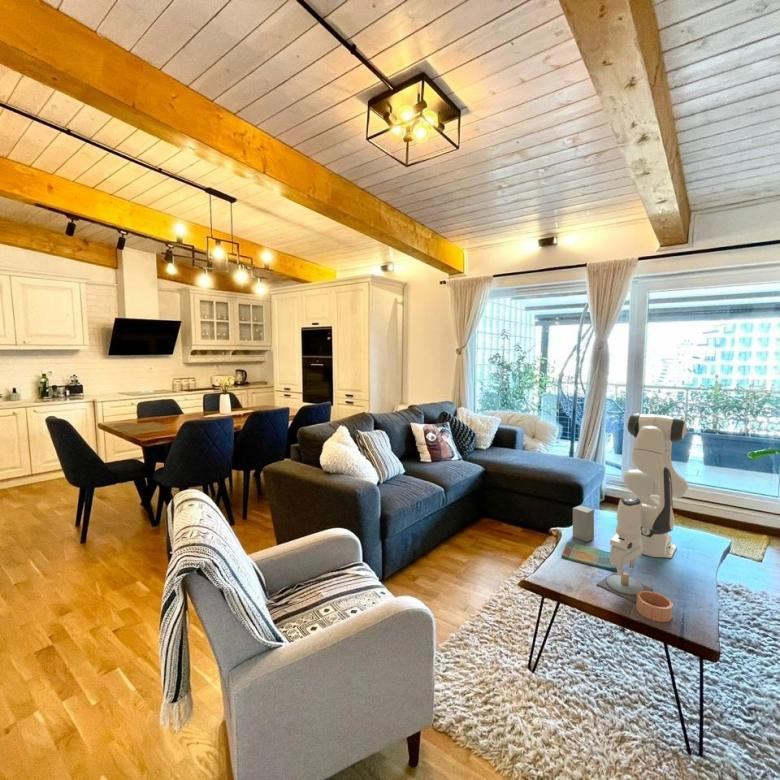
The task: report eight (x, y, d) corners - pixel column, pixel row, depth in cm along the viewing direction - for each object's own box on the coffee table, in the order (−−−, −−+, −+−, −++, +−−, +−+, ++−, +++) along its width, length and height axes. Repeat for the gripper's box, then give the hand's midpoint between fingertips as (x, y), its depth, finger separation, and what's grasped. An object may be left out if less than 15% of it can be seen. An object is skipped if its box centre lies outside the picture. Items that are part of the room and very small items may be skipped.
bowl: (644, 599, 161) (645, 587, 161) (676, 614, 153) (677, 601, 152) (630, 610, 155) (631, 597, 155) (663, 625, 146) (664, 612, 146)
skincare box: (594, 539, 213) (595, 509, 211) (586, 543, 209) (587, 512, 207) (578, 533, 220) (580, 504, 218) (570, 536, 216) (572, 507, 214)
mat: (614, 573, 180) (614, 572, 180) (652, 589, 168) (652, 588, 168) (596, 584, 171) (596, 583, 171) (635, 603, 159) (635, 601, 159)
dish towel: (618, 574, 181) (618, 568, 181) (560, 559, 193) (561, 554, 193) (620, 557, 196) (620, 552, 195) (566, 544, 208) (567, 539, 207)
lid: (615, 574, 179) (616, 563, 178) (648, 588, 168) (649, 576, 168) (600, 583, 171) (601, 572, 171) (634, 599, 161) (634, 587, 160)
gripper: (631, 529, 176) (629, 560, 177) (607, 541, 164) (605, 575, 165) (647, 534, 171) (645, 567, 172) (624, 547, 159) (622, 582, 160)
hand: (625, 571), depth 169 cm, fingers open, 8 cm apart
